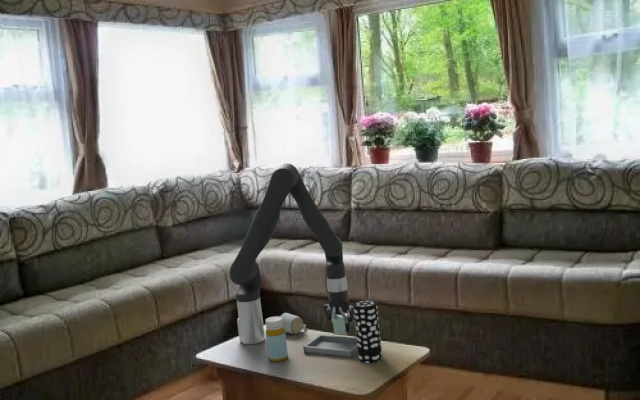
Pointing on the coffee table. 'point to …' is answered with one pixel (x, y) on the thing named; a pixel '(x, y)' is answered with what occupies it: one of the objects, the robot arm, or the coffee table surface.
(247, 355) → the coffee table surface
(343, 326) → the sage block
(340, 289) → the robot arm
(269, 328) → the bottle
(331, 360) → the coffee table surface
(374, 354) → the white-spotted black cylinder
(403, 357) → the coffee table surface
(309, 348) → the gray tray
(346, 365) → the coffee table surface
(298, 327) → the ceramic mug
